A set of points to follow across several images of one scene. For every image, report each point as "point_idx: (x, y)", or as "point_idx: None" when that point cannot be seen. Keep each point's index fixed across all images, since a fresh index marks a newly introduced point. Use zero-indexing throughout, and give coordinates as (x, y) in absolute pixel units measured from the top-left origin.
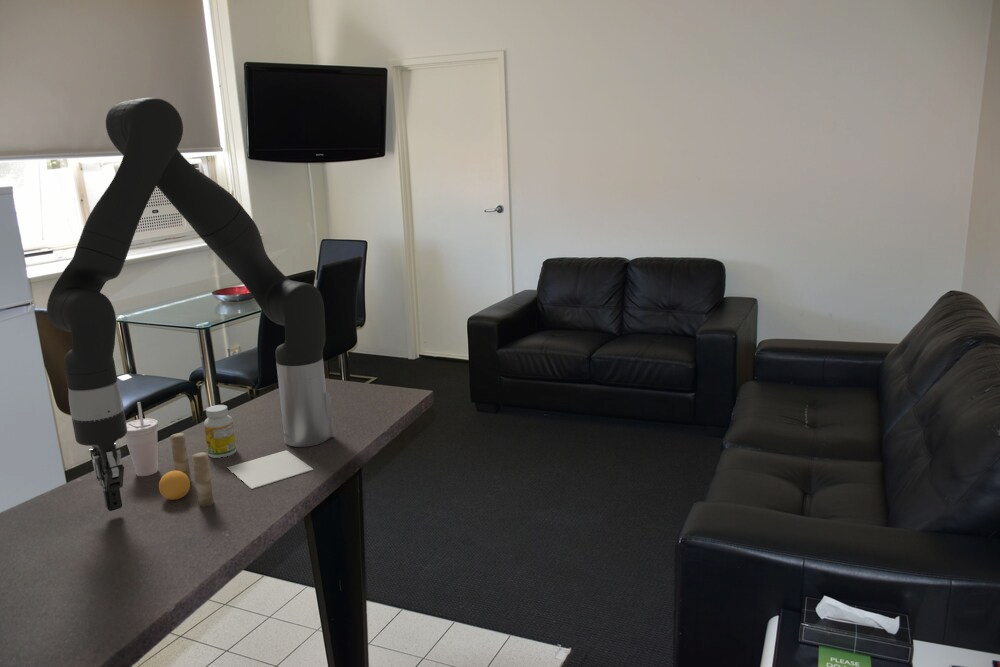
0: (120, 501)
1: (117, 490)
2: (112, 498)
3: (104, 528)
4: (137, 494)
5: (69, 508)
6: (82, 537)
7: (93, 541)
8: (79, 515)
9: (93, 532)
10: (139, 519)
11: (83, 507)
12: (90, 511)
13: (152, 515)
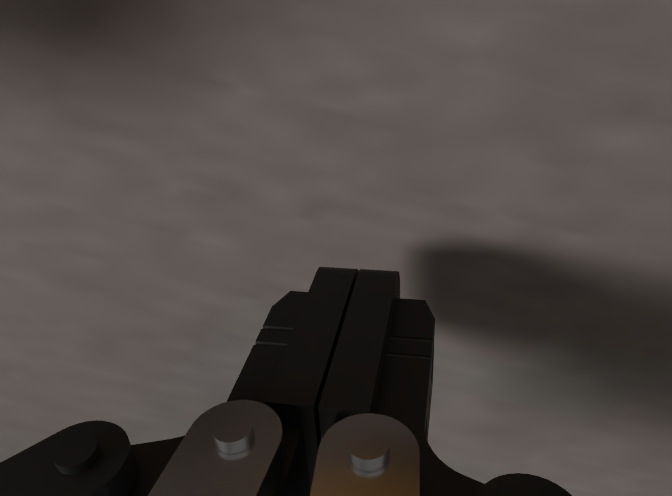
0: (391, 306)
1: (422, 432)
2: (428, 419)
3: (520, 366)
4: (45, 25)
5: (80, 405)
6: (539, 471)
7: (661, 455)
8: (208, 400)
9: (522, 420)
10: (590, 149)
11: (103, 357)
12: (185, 348)
13: (611, 29)
